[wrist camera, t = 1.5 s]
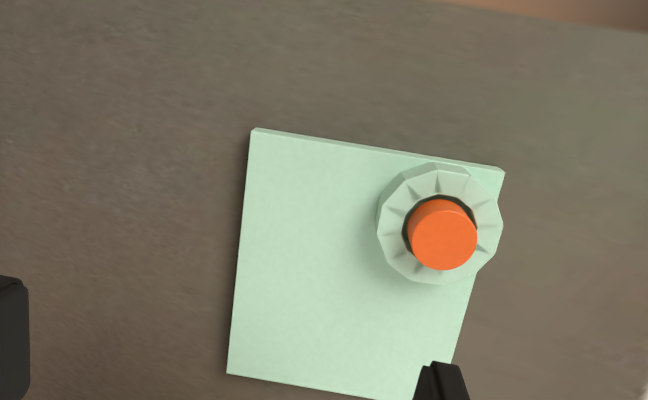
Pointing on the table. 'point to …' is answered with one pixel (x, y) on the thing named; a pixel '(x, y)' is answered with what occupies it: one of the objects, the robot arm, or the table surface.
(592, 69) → the table surface
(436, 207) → the button
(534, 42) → the table surface
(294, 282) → the scale
